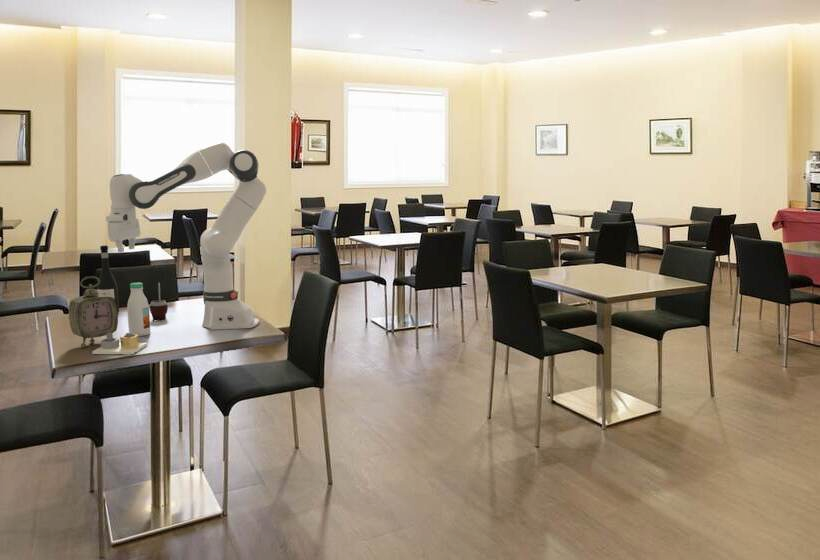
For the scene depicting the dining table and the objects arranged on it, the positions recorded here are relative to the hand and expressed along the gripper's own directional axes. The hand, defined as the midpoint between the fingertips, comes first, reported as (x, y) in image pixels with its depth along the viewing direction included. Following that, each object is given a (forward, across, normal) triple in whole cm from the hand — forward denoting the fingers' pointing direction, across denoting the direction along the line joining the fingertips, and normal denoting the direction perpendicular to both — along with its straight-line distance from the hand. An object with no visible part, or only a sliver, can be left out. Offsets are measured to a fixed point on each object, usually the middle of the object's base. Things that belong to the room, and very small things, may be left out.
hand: (126, 250), depth 275 cm
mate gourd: (+31, -15, +5) cm, 35 cm away
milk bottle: (+31, +11, +8) cm, 34 cm away
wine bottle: (+31, -26, -22) cm, 46 cm away
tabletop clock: (+31, +25, -2) cm, 40 cm away
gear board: (+31, +34, +11) cm, 47 cm away
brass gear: (+30, +34, +14) cm, 47 cm away
